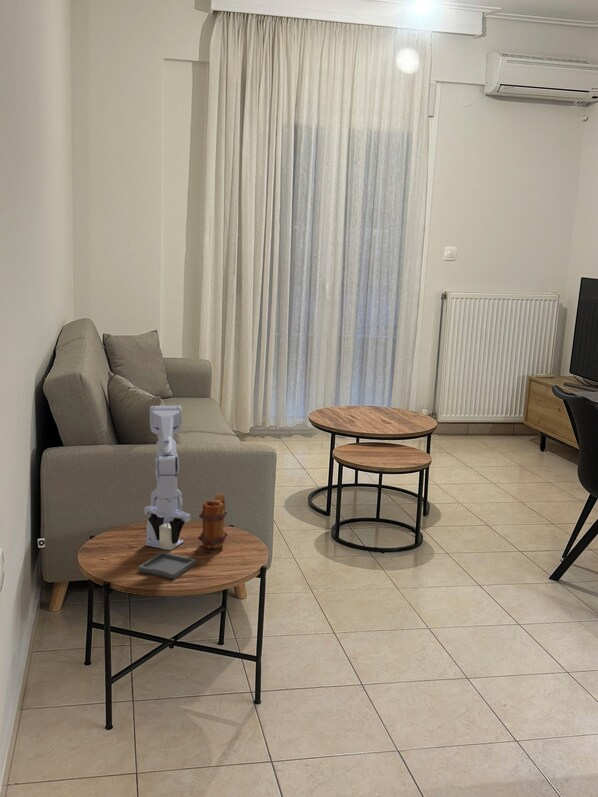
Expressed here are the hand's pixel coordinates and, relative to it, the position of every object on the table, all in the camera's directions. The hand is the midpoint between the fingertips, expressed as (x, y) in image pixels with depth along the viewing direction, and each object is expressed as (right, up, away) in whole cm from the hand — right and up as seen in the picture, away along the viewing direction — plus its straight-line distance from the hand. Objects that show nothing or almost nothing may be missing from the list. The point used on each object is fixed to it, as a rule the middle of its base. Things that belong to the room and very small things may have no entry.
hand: (167, 540), depth 235 cm
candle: (0, -2, +1) cm, 2 cm away
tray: (0, -8, +2) cm, 8 cm away
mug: (+12, -5, +21) cm, 25 cm away
